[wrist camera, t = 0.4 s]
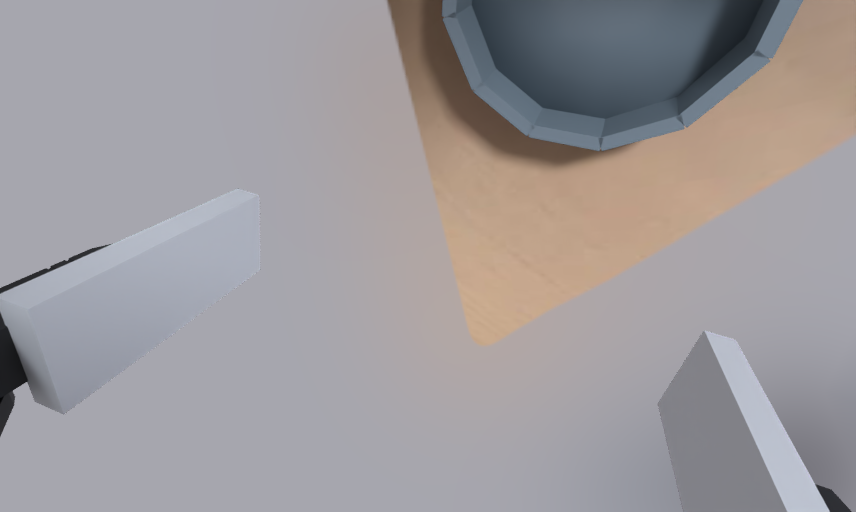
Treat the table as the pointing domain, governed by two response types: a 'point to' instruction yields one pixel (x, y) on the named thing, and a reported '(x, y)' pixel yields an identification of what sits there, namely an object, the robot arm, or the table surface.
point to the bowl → (611, 61)
